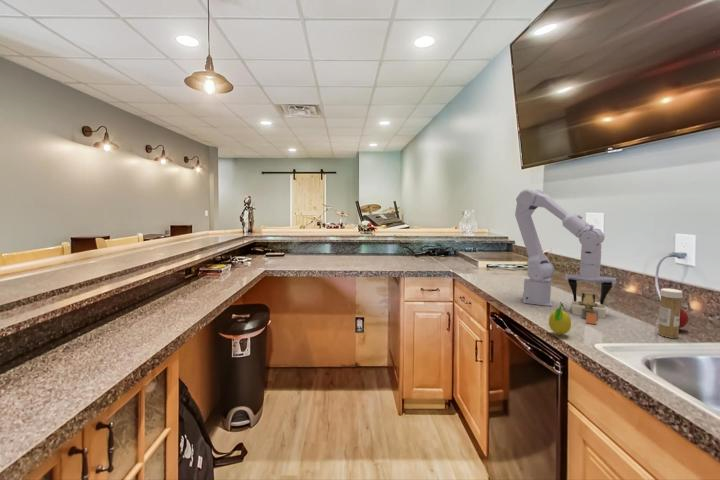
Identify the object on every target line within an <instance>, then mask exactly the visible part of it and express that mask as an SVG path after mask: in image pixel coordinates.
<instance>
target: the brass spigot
mask: <svg viewBox="0 0 720 480" xmlns="http://www.w3.org/2000/svg"><path fill="white" fill-rule="evenodd" d="M596 295H597V294H596V293H595V292H591V291H582V292H581V299H580V300H581V306H585V309H588V310H592V309H593V307H595V302H596Z"/></svg>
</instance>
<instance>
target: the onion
mask: <svg viewBox="0 0 720 480" xmlns="http://www.w3.org/2000/svg"><path fill="white" fill-rule="evenodd" d="M689 319H690V318H689V315H688V313H687V312H686V311H685V310H684V309H683V308H681V307H680V322H679V329H681V328H683V327H686V326H687V324H688V323H689V321H690V320H689Z"/></svg>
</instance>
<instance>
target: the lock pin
mask: <svg viewBox="0 0 720 480" xmlns="http://www.w3.org/2000/svg"><path fill="white" fill-rule="evenodd" d="M597 321H598V320H597V314H596V313H589V312H586V319H585V323H586V324H589V325H590V324H591V325H597Z"/></svg>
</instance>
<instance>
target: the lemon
mask: <svg viewBox="0 0 720 480" xmlns="http://www.w3.org/2000/svg"><path fill="white" fill-rule="evenodd" d="M548 326H549V328H550V330H552V331H553V332H554V333H556V334H557V336H561V335H563V334H567V333H568V332H569V331H570V330H571V327H572V320H571V317H570V316H569V314H568V313H567V312H566V308H565V307H564V303H563V302H562V301H560V303H559V307H558V308H557V309H556V310H554V311H552V312H551V314H550V316H549V319H548Z"/></svg>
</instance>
